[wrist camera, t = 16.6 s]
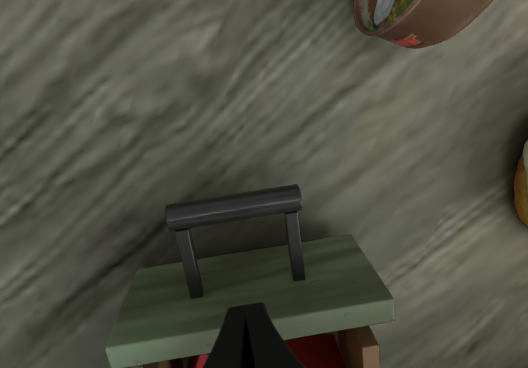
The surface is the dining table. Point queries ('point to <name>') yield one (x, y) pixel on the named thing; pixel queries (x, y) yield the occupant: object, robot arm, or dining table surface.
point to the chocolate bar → (301, 352)
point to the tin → (416, 19)
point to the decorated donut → (522, 186)
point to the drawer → (250, 288)
